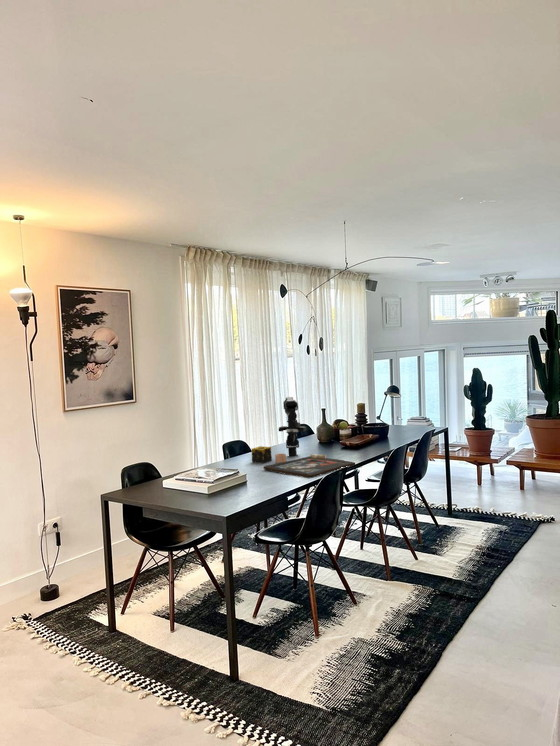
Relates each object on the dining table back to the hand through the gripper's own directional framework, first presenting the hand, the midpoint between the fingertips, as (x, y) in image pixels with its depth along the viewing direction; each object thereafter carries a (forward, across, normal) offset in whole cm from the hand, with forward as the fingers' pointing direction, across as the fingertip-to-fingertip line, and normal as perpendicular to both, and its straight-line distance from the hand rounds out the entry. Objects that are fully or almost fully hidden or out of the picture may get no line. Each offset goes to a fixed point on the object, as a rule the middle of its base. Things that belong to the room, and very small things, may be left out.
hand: (293, 441), depth 376 cm
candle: (+13, +20, +9) cm, 26 cm away
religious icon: (+14, -20, +19) cm, 31 cm away
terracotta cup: (+13, +6, +8) cm, 16 cm away
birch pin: (+9, -14, +2) cm, 17 cm away
